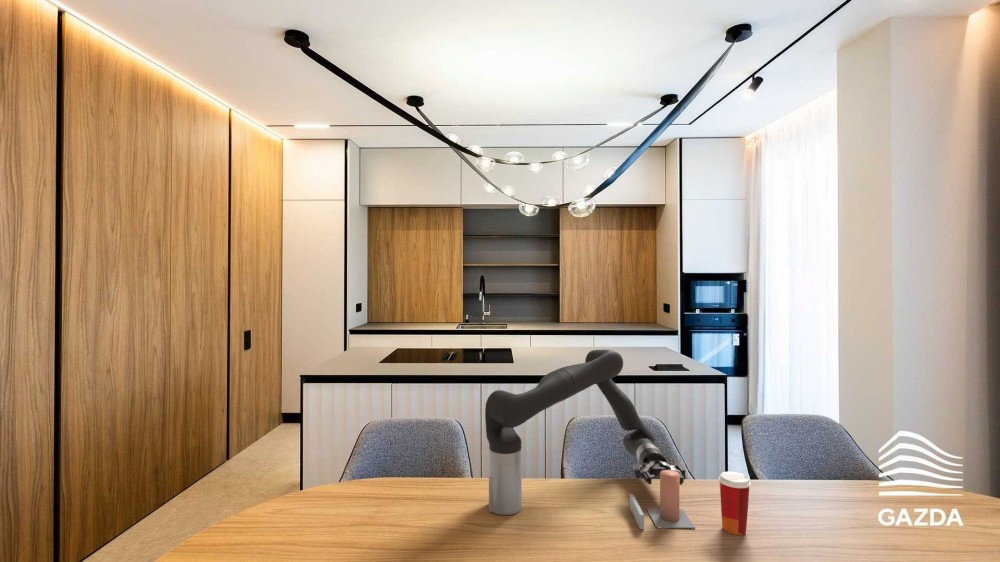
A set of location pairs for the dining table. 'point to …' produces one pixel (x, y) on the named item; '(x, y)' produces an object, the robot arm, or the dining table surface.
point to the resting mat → (659, 522)
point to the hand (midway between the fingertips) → (665, 481)
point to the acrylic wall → (637, 511)
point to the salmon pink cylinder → (669, 495)
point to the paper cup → (734, 502)
